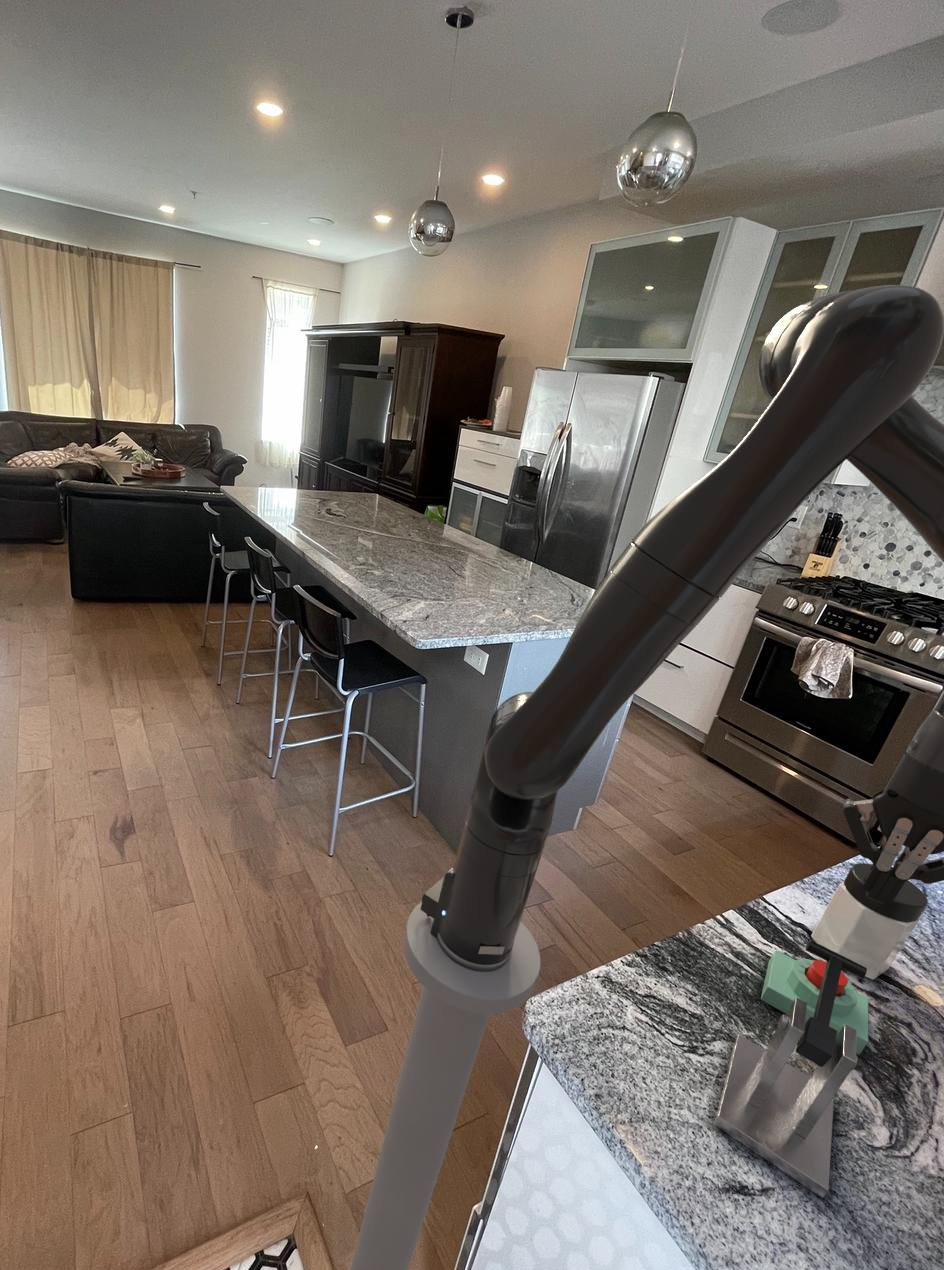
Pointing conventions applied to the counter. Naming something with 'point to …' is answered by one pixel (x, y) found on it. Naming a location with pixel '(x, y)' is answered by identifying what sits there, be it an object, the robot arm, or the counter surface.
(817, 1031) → the lever
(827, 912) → the jar
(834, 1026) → the button block
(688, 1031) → the counter surface
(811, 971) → the button
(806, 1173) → the bracket
